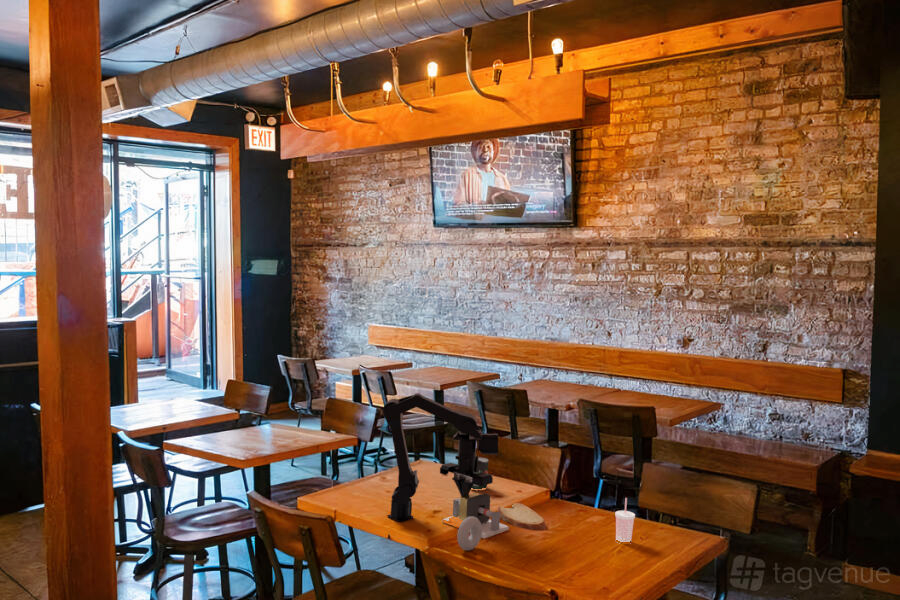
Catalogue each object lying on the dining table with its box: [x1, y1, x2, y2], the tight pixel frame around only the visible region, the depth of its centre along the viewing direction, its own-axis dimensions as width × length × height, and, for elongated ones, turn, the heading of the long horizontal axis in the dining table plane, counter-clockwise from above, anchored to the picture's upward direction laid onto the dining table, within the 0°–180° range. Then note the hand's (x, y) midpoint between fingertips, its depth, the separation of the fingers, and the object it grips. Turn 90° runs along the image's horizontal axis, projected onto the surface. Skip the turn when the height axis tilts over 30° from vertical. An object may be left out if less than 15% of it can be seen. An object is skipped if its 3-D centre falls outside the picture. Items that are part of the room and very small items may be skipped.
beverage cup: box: [614, 497, 636, 542], centre depth 239 cm, size 6×6×14 cm
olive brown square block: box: [459, 492, 481, 520], centre depth 248 cm, size 7×3×7 cm, turn 137°
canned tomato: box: [472, 456, 489, 489], centre depth 288 cm, size 8×8×11 cm
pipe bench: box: [442, 497, 510, 539], centre depth 246 cm, size 12×18×7 cm, turn 47°
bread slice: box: [497, 502, 547, 531], centre depth 256 cm, size 18×18×4 cm
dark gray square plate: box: [467, 492, 491, 523], centre depth 246 cm, size 8×2×8 cm, turn 137°
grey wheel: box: [456, 516, 482, 552], centre depth 226 cm, size 10×4×10 cm, turn 141°
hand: (464, 499), depth 250 cm, fingers closed
